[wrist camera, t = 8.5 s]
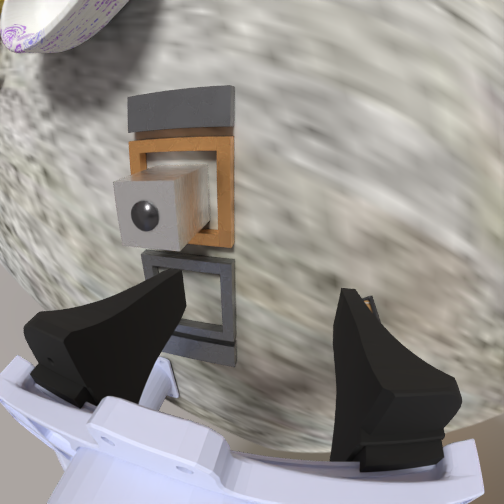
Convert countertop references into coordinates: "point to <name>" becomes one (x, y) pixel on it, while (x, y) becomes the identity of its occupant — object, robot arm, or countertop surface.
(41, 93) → the countertop surface
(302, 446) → the countertop surface
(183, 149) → the rail
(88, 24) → the paper bowls
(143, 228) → the brushed metal block
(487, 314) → the countertop surface
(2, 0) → the plant pot
